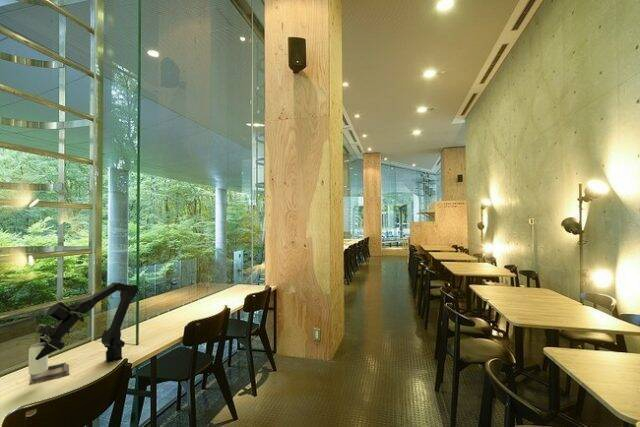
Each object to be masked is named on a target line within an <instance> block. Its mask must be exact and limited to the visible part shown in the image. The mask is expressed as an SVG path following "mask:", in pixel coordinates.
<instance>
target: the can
mask: <svg viewBox="0 0 640 427" xmlns="http://www.w3.org/2000/svg"><path fill="white" fill-rule="evenodd" d="M43 348H44V342H41V343H39V342H37V343H32V344H31V345H30V346H29V349H28V374H29V375H30V376H31V375H38V374H41V373H44V372H46V371H47V370H48V366H49V354H48V355H46V356H44V357H43V358H41V359H39V360H35V358H36V357H37V355H38V354H39V353H40V352H41V350H42V349H43Z"/></svg>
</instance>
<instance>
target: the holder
mask: <svg viewBox="0 0 640 427" xmlns="http://www.w3.org/2000/svg"><path fill="white" fill-rule="evenodd" d="M67 376H70V365H69V363H67V362H61V363H57V364H53V365H48V370H47V371H46V372H44V373H41V374H38V375H30V380H29V386H31V385H34V384H39V383H43V382H47V381H51V380H55V379H60V378H62V377H67Z"/></svg>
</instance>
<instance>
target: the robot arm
mask: <svg viewBox="0 0 640 427" xmlns="http://www.w3.org/2000/svg"><path fill="white" fill-rule="evenodd" d="M137 286H138V285H136V284H132V283H131V284H129V283H121V282H119V281H118V282H116V281H115V282H114V281H113V282H112V283H110V284H109V285H106V287H104V288H102V289H100V290H99V291H97V292H95V293H94V294H92V295H89V296H88V297H84V298H80V299H78V300H76V301H74V302H73V303H72V304H70V305H69V304H68V305H66V304H64V302H61V301H58V302H57V303H55V304H53V305H52V306H51V307H49V308H48V309H47V310H46V313H45V314H46V315H47V316H48V317H50V318H51V319H54V320H55V321H56V322H58V323H55V324H53V325H51V324H47V323H46V324H43V323H38V325H37V326H36V328H35V330H34V332H36V333H37V334H38V337H39V338H38V340H39V342H38V343H41V342H44V348H43V349H42V350H41V352H40V353H39V354H38V355H37V357H36V358H35V360H39V359H41V358H43V357H44V356H46V355H48V356H49V354H52V353H54V352H56V351H58V350H59V351H62V350H63V349H64V348H65V343H64V342H63V339H64V337H65V336H66V335H67V334H68V335H69V334H70V333H71V329H72V328H74V327H75V326H76V325H77V323H78V322H79V321H80V322H81V323H84V322H85V316H84V315H85V314H88V313H89V312H90V311H92V309H94V308H95V306H96V305H97V304H98V303H99V302H101V301H103V300H105V299H106V298H108V297H109V296H111V295H113V294H115V293H116V292H119V296H120V298H119V299H120V301H119V303H118V306H117V308H116V311H115V314H114V316H113V318H112V322H111V324H110V326H109V328H107V329H104V330H103V333H102V334H101V337H100V342H101V344H102V345H103V346H104V348H106V350H105V360H106V361H107V362H108V363H110V362H115V361H119V360H122V359H123V356H122V355H123V350H122V349H123V348H124V347H125V344H126V342H125V340H124V341H123V340H122V339H121V338H122V331H121V330H122V329H121V328H122V325H123V323H124V320H125V317H126V316H127V315H126V314H127V313H128V310H129V307H130V304H131V302H132V301H133V300H134V298H136V296H137V294H138V292H139V287H138V288H137ZM70 312H72V313H70ZM80 314H81V315H80ZM82 314H83V315H82Z"/></svg>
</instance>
